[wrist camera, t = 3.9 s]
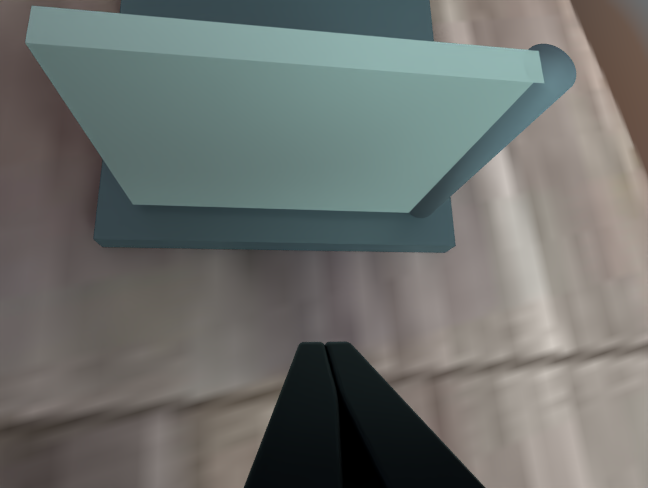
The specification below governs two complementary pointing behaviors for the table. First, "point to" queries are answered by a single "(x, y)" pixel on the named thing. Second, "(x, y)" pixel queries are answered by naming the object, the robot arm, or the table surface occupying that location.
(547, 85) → the door
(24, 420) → the table surface
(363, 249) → the housing
